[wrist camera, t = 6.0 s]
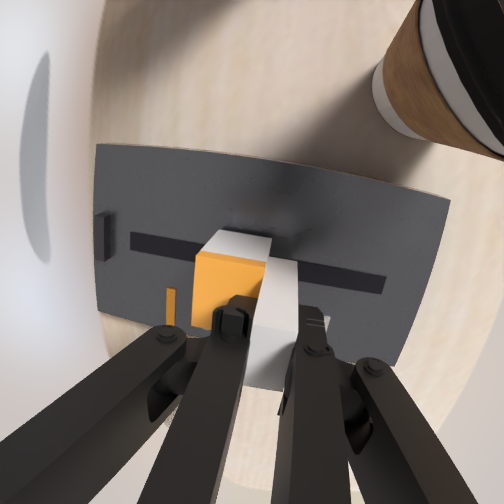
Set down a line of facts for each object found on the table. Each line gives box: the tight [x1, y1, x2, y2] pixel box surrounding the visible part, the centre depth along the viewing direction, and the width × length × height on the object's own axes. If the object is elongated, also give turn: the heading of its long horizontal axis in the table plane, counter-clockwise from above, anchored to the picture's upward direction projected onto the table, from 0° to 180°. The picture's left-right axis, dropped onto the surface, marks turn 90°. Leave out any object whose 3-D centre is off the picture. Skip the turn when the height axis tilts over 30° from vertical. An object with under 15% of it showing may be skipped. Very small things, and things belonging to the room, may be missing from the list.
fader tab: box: [191, 230, 272, 330], centre depth 16 cm, size 4×3×4 cm
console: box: [93, 143, 451, 367], centre depth 19 cm, size 12×22×3 cm, turn 82°
